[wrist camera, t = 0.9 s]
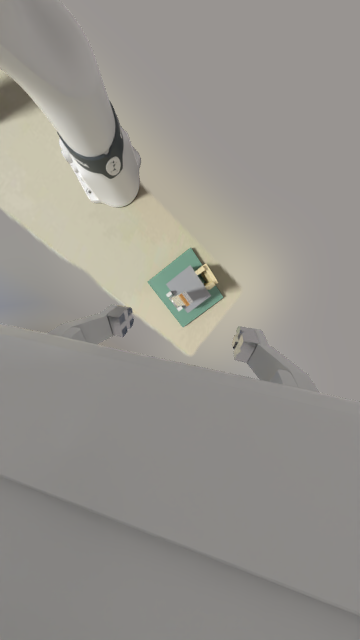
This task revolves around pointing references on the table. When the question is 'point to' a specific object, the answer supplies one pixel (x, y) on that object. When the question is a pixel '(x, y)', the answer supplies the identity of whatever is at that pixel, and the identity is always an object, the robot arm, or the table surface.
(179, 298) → the retention strap
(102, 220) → the table surface
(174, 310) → the base
